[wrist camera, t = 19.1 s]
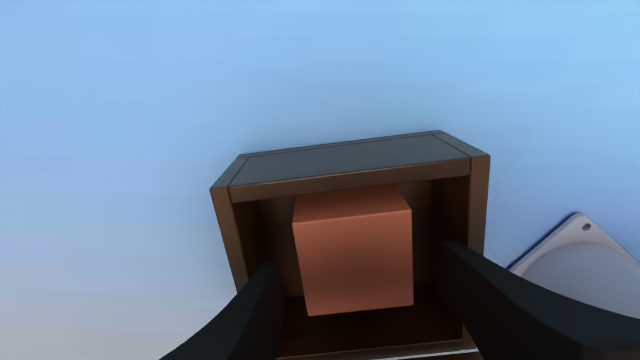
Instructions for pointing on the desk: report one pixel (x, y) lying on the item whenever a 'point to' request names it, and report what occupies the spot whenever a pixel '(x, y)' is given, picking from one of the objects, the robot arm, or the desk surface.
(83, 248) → the desk surface
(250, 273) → the box
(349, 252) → the note cube
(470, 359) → the lid
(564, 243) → the robot arm
